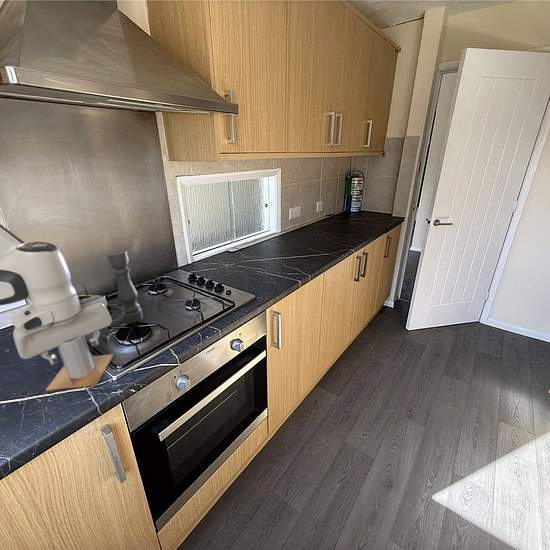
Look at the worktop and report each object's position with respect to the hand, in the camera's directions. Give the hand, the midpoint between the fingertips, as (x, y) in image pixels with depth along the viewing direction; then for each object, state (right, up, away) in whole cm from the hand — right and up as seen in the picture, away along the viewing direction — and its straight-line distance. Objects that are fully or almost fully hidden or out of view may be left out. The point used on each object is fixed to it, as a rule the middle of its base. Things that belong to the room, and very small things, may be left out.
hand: (75, 353), depth 77 cm
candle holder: (+2, +5, +27) cm, 27 cm away
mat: (0, -6, +2) cm, 6 cm away
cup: (0, -5, +2) cm, 6 cm away
